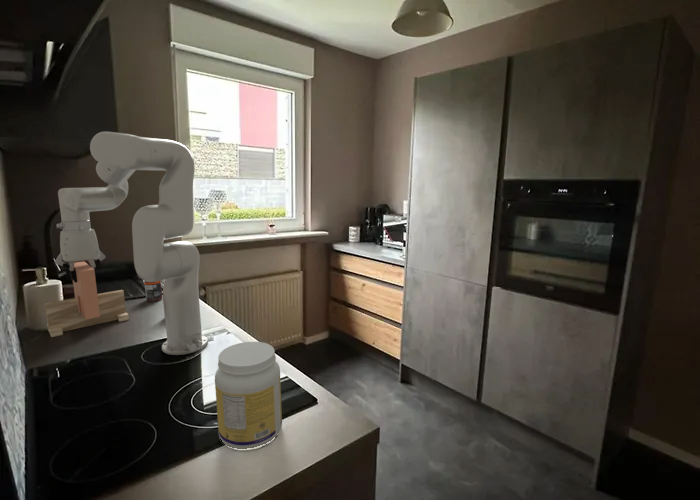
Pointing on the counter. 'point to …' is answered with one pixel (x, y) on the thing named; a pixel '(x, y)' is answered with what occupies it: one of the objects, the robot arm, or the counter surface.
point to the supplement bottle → (153, 291)
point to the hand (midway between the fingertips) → (83, 279)
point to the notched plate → (86, 290)
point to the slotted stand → (69, 318)
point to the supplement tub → (248, 395)
